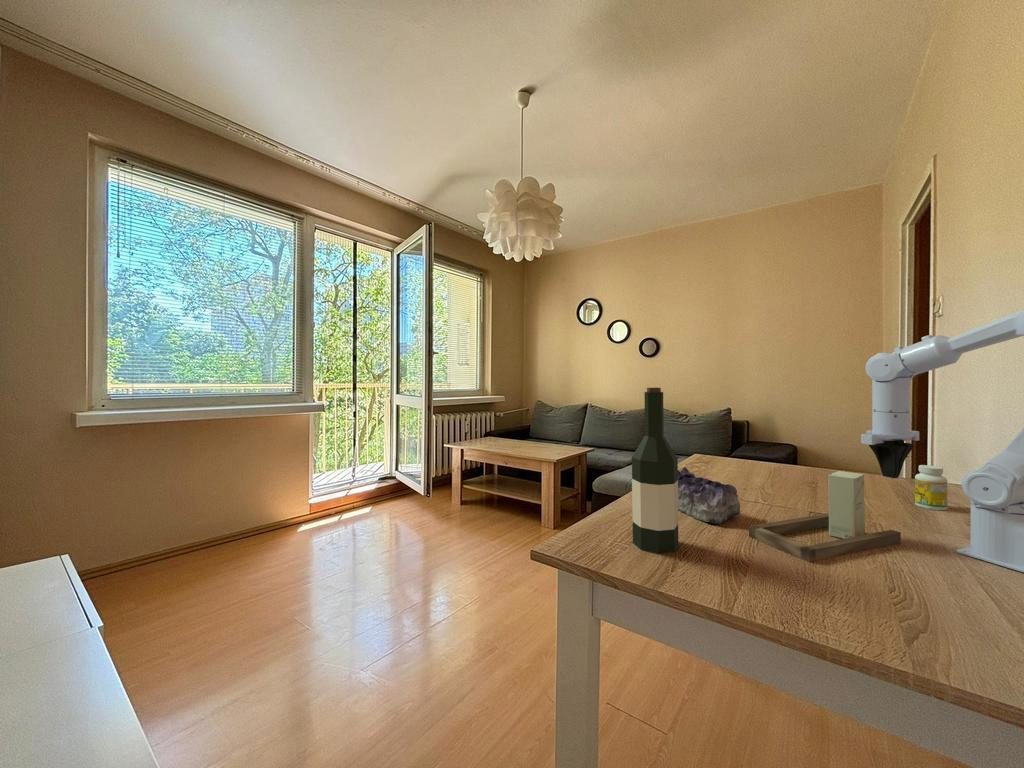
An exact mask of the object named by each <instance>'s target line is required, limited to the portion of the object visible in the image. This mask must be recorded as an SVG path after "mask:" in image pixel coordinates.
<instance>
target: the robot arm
mask: <svg viewBox="0 0 1024 768" xmlns="http://www.w3.org/2000/svg"><path fill="white" fill-rule="evenodd" d="M1020 337H1024V309H1022V310H1020V311H1017V312H1016V311H1015V312H1014V313H1011V314H1009V315H1006V316H1003V317H1001V318H999V319H996V320H994V321H991V322H988V323H986V324H983V325H981V326H978V327H976V328H973V329H970V330H968V331H965V332H962V333H959V334H958V335H955V336H952V337H948V336H945V335H935V336H934V335H933V334H930V335H925V336H922V337H920V338H921V341H918V342H916V343H912V344H911V345H907V346H904V347H903V346H897V347H896V348H894V349H893V350H894V351H893V352H892V353H889V352H878V353H876V354H875V355H873V356H871V357H870V358H869V359H868V360H867V361H866V363H865V373H866V375H867V376H868V377H869V378H870V379H871V380H872V381H871V382H872V383H871V405H872V406H871V409H872V410H871V411H872V412H871V413H872V414H871V416H872V417H871V418H872V419H871V420H872V423H871V424H872V428H871V430H866V433H861V435H860V444H863V445H868V447H869V448H870V449H871V450H872V452H873V453H874V455H875V458H876V460H877V462H878V466H879V468H880V469H879V470H880V471H881V474H882V476H883V477H886V478H890V479H899V478H900V477H899V476H900V475H901V472H902V468H903V466H904V464H905V461H906V459H907V457H908V455H909V454H910V453H911V451H913V449H914V443H910V442H907V441H917V442H918V441H920V431H918V430H911V381H912V379H913V378H914V377H915V376H917V375H921V374H924V373H926V372H929V371H932V370H936V369H940V368H943V367H947V366H950V365H952V364H956V363H957V362H958V361H959V359H960V358H961V356H962V355H963V354H965V353H968V352H972V351H974V350H979V349H982V348H985V347H989V346H993V345H997V344H1000V343H1003V342H1007V341H1010V340H1013V339H1017V338H1020ZM961 488H962V490H963V491H962V492H963V493H964V495H965V496H966V497H967V498H968V499H969V500H970V519H969V520H970V521H969V523H970V527H969V528H970V530H969V532H970V540H969V543H970V544H969V545H970V546H967V547H964V548H959V549H957V553H958V554H961V555H964V556H968V557H971V558H975V559H979V560H982V561H985V562H988V563H991V564H993V565H998V566H1001V567H1004V568H1008V569H1011V570H1015V571H1018V572H1021V573H1024V426H1023V427H1022V428H1021V429H1020V431H1019V432H1018V433H1017V435H1015V437H1014V438H1013V439H1012V440H1011V441H1010V442H1009V444H1008V445H1007V446H1006V447H1005V449H1004V450H1002V451H1001V452H999V453H998V454H996V455H994V456H993V457H992V458H990V459H988V460H987V461H986V462H985V463H984V464H983V466H981V467H980V468H978V469H974V470H973V471H970V472H968V473H966V474H965V475H964V477H963V479H962V481H961Z"/></svg>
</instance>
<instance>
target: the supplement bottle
mask: <svg viewBox="0 0 1024 768" xmlns="http://www.w3.org/2000/svg"><path fill="white" fill-rule="evenodd" d="M918 472H919V473H917V474H915V476H914V504H915V505H916V506H917V507H919V508H923V509H926V510H932V511H946V510H948V503H949V502H948V499H949V498H948V479H947V477H945V476H942V475H943V474H944V468H943V467H941V466H937V465H929V464H927V465H926V464H920V465H918Z"/></svg>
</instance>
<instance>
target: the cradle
mask: <svg viewBox="0 0 1024 768" xmlns="http://www.w3.org/2000/svg"><path fill="white" fill-rule="evenodd" d="M826 527H829V512H827V513H822V514H815V515H809V516H804V517H803V516H802V517H797V518H792V519H791V518H790V519H785V520H778V521H772V522H766V523H761V524H754V525H749V526H748V536H749V537H750V538H752V539H755V540H757V541H759V542H761V543H763V544H766V545H769V546H771V547H773V548H775V549H778V550H780V551H781V552H782V551H783V552H785V553H787V554H790V555H792V556H794V557H796V558H799V559H800V560H803V561H806V562H808V563H811V562H817V561H822V560H826V559H831V558H834V557H835V558H836V557H840V556H845V555H850V554H851V555H852V554H855V553H861V552H864V551H869V550H873V549H878V548H883V547H888V546H893V545H897V544H901V542H902V540H901V539H902V532H900V531H897V530H894V529H887V530H882V531H877V532H876V531H875V532H872V533H868V534H866V533H865V535H861V536H856V537H850V538H845V539H842V538H839V539H835V540H831V541H826V542H821V543H816V544H815V543H814V544H810V545H805V544H803V543H801V542H799V541H795V540H793V539H790V538H788V537H785V536H783V535H787V534H792V533H798V532H803V531H808V530H815V529H819V528H826Z"/></svg>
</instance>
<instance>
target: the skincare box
mask: <svg viewBox="0 0 1024 768" xmlns="http://www.w3.org/2000/svg"><path fill="white" fill-rule="evenodd" d="M827 475H828V476H827V482H828V483H827V485H828V486H827V487H828V491H827V492H828V495H827V496H828V513H829V526H828V535H829V536H831V537H834V538H837V539H845V538H850V537H856V536H861V535H866V533H865V532H866V530H865V529H866V521H865V519H866V518H865V513H866V512H865V474H863V473H856V472H850V471H842V470H837V471H835V472H832V473H829V474H827Z"/></svg>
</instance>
